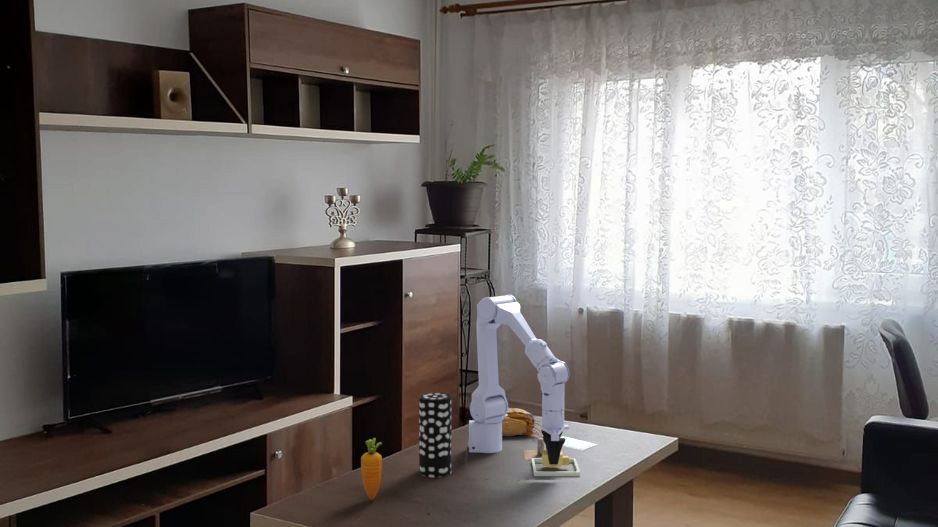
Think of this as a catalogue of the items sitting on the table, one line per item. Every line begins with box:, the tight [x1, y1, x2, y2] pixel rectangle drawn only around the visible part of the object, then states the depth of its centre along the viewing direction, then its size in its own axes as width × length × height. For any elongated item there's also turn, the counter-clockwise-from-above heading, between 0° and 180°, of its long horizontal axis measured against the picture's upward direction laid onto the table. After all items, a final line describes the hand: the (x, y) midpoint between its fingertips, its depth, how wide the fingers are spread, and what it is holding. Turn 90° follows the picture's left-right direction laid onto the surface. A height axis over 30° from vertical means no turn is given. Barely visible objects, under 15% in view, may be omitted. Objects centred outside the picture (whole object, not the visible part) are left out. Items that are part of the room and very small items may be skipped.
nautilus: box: [502, 407, 543, 440], centre depth 272 cm, size 8×22×15 cm
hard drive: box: [560, 435, 599, 452], centre depth 263 cm, size 2×8×12 cm
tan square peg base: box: [522, 437, 546, 461], centre depth 252 cm, size 9×9×5 cm
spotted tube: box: [418, 392, 452, 478], centre depth 239 cm, size 8×8×20 cm
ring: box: [541, 449, 570, 468], centre depth 240 cm, size 5×7×3 cm
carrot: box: [360, 437, 383, 501], centre depth 219 cm, size 5×5×15 cm
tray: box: [531, 457, 581, 477], centre depth 241 cm, size 12×12×2 cm
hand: (552, 460), depth 240 cm, fingers closed on ring, 5 cm apart
